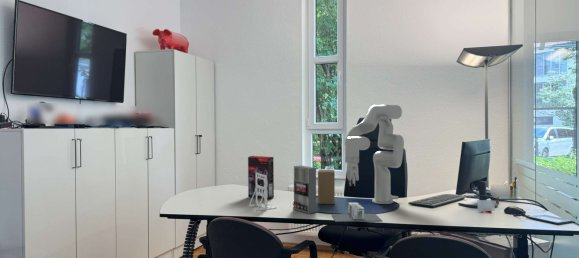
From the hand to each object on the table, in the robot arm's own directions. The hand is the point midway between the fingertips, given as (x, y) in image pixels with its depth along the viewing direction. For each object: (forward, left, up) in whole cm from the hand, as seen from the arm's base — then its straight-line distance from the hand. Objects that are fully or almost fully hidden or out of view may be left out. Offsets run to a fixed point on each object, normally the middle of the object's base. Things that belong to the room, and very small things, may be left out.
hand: (352, 192), depth 219 cm
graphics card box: (+52, -45, -12) cm, 69 cm away
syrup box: (0, 0, -8) cm, 8 cm away
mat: (0, +10, -11) cm, 15 cm away
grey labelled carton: (+26, -7, -12) cm, 29 cm away
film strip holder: (+50, -17, -12) cm, 54 cm away
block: (+11, -27, -12) cm, 31 cm away
